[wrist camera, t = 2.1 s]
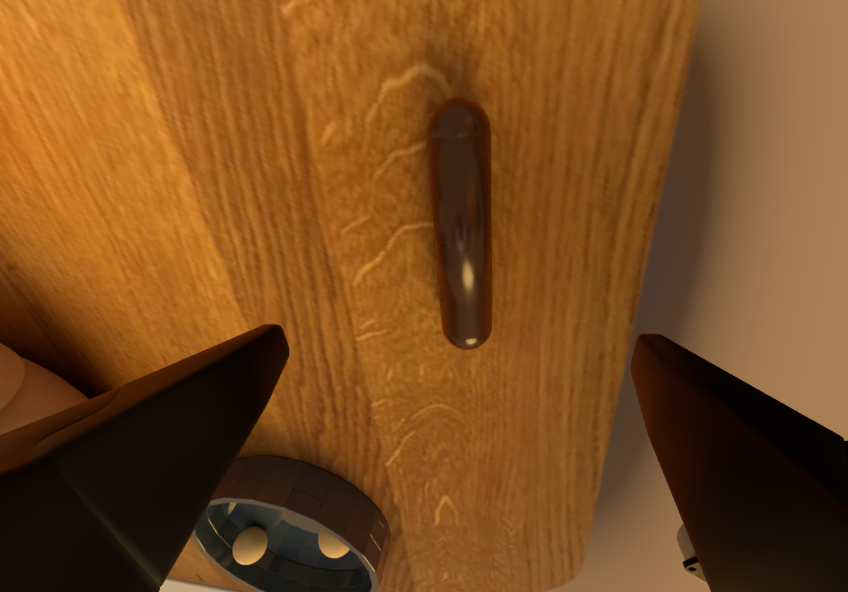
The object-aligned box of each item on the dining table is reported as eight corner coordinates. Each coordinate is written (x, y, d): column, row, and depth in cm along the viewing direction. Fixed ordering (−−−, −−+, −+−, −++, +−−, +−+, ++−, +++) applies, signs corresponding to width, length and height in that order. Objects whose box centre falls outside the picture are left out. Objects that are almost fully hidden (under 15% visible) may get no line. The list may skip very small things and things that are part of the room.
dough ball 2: (365, 518, 29) (352, 557, 26) (351, 532, 30) (338, 569, 28) (334, 503, 28) (319, 540, 26) (322, 517, 30) (306, 554, 27)
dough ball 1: (277, 529, 32) (259, 564, 30) (269, 541, 34) (251, 575, 31) (249, 516, 32) (228, 550, 30) (242, 527, 33) (222, 561, 31)
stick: (494, 332, 18) (489, 362, 16) (448, 329, 19) (439, 357, 17) (493, 93, 13) (487, 93, 11) (431, 100, 14) (414, 101, 12)
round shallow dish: (425, 521, 28) (415, 571, 25) (347, 583, 36) (334, 627, 33) (239, 424, 27) (206, 466, 24) (203, 513, 35) (174, 552, 32)
